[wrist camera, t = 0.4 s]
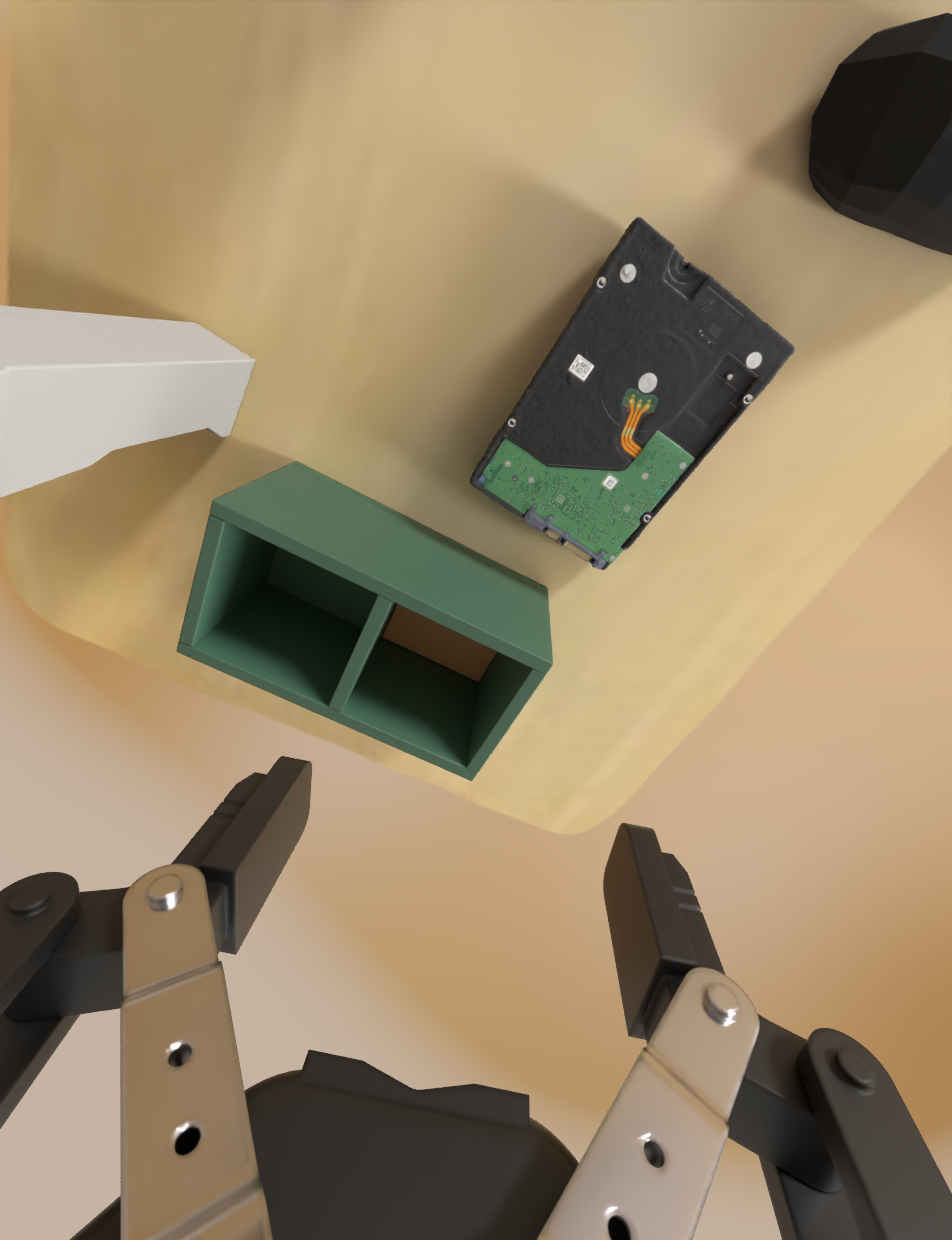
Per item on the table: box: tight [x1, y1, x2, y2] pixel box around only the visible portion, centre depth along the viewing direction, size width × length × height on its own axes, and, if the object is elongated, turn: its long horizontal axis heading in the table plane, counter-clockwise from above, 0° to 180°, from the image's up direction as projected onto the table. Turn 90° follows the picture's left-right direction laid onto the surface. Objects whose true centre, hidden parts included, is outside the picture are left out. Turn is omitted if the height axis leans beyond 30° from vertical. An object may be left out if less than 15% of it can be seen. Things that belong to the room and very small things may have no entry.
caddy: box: [177, 461, 553, 781], centre depth 32 cm, size 10×18×10 cm, turn 64°
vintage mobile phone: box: [0, 305, 255, 498], centre depth 20 cm, size 4×5×25 cm
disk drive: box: [470, 217, 794, 570], centre depth 29 cm, size 10×3×15 cm
